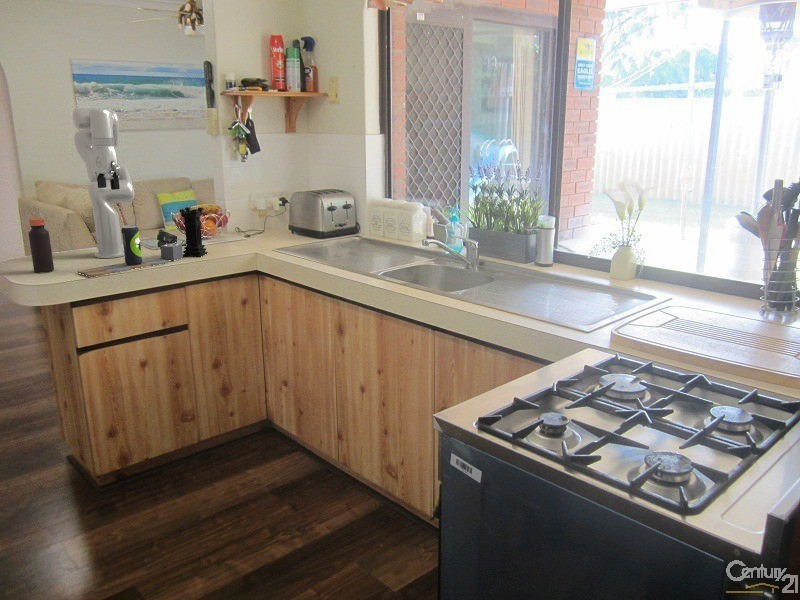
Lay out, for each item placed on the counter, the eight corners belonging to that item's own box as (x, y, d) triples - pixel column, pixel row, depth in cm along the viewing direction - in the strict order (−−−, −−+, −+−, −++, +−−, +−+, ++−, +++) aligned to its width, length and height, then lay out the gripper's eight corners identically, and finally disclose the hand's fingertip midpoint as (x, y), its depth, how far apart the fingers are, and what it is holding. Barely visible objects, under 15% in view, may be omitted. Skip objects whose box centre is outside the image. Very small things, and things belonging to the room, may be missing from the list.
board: (77, 273, 242) (77, 271, 242) (154, 259, 267) (154, 257, 266) (91, 277, 237) (90, 275, 236) (168, 263, 261) (168, 260, 260)
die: (161, 260, 266) (160, 245, 264) (171, 257, 271) (169, 243, 269) (174, 261, 264) (172, 246, 262) (183, 258, 269) (181, 244, 268)
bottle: (31, 271, 246) (23, 219, 241) (50, 268, 251) (42, 217, 245) (38, 274, 242) (29, 221, 236) (57, 271, 246) (49, 219, 241)
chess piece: (207, 253, 279) (204, 207, 274) (200, 257, 272) (196, 210, 266) (190, 253, 280) (186, 207, 275) (182, 256, 272) (178, 209, 267)
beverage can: (123, 264, 254) (118, 226, 250) (138, 261, 258) (134, 224, 254) (129, 266, 250) (124, 228, 246) (145, 263, 254) (140, 226, 250)
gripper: (82, 142, 246) (88, 187, 251) (105, 143, 236) (111, 191, 240) (101, 142, 252) (106, 186, 256) (124, 143, 241) (130, 189, 246)
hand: (108, 188), depth 248 cm, fingers open, 9 cm apart
